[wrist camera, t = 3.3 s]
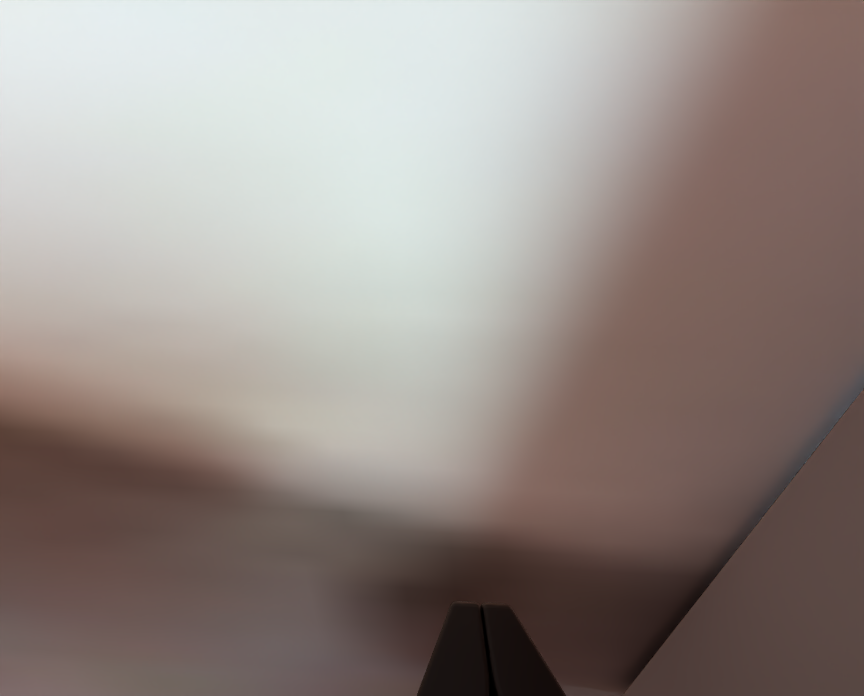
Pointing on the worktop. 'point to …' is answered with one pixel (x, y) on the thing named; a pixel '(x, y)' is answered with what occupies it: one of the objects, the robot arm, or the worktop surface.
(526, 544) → the worktop surface
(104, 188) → the worktop surface
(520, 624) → the robot arm
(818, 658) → the door
